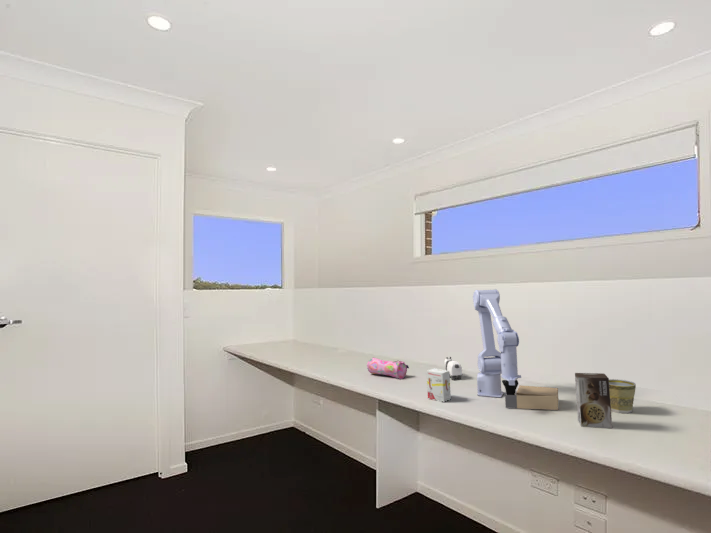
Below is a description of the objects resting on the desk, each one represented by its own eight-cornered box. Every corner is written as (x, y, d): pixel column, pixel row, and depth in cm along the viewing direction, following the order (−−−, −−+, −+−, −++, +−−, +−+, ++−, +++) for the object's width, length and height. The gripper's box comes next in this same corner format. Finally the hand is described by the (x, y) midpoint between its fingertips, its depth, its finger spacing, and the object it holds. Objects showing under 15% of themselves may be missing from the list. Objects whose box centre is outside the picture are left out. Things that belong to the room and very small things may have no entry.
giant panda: (463, 380, 202) (462, 360, 202) (452, 381, 201) (451, 361, 201) (451, 373, 216) (450, 355, 217) (441, 374, 215) (440, 355, 216)
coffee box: (607, 422, 138) (604, 373, 139) (612, 428, 132) (609, 377, 133) (577, 420, 141) (574, 372, 142) (580, 426, 135) (577, 376, 136)
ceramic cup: (626, 416, 143) (625, 387, 143) (598, 409, 151) (596, 381, 152) (648, 410, 149) (646, 381, 149) (619, 403, 157) (618, 376, 158)
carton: (517, 406, 159) (516, 392, 159) (520, 397, 169) (519, 385, 170) (557, 410, 152) (557, 396, 153) (558, 401, 163) (557, 388, 163)
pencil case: (409, 377, 213) (409, 359, 213) (399, 380, 206) (398, 362, 206) (377, 372, 227) (376, 355, 227) (366, 375, 220) (365, 358, 220)
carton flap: (505, 407, 156) (505, 395, 156) (505, 407, 157) (505, 394, 157) (558, 409, 152) (557, 396, 152) (557, 409, 152) (557, 396, 152)
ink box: (427, 398, 173) (425, 369, 174) (434, 396, 176) (433, 368, 177) (443, 402, 167) (442, 372, 167) (451, 400, 170) (450, 370, 170)
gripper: (523, 368, 150) (525, 406, 149) (518, 360, 164) (519, 395, 163) (502, 367, 152) (504, 405, 151) (499, 359, 166) (500, 394, 165)
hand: (510, 400), depth 157 cm, fingers closed
